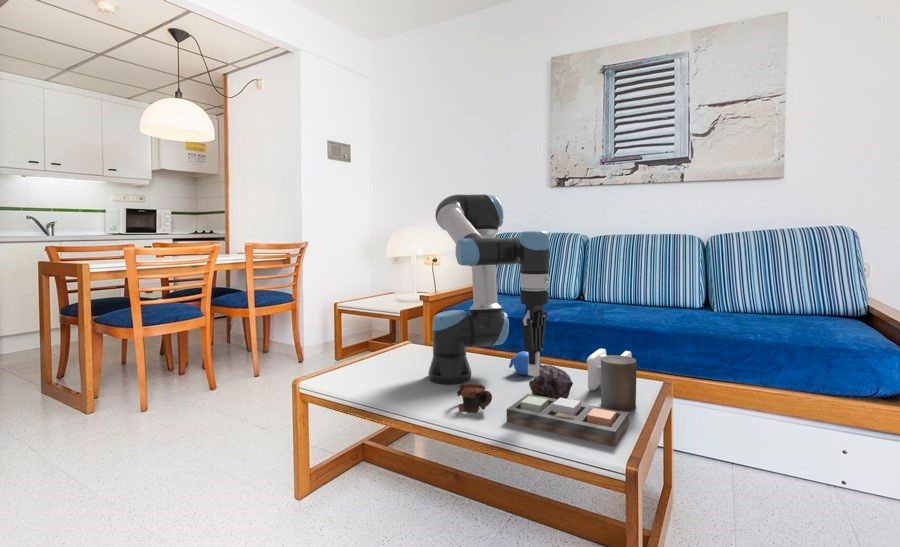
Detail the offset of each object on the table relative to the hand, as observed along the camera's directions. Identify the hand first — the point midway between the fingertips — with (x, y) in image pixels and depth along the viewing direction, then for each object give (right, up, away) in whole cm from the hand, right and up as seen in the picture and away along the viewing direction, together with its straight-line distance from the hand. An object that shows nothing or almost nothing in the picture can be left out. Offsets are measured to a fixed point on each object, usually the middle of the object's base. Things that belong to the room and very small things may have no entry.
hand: (533, 375), depth 126 cm
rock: (+9, -10, +17) cm, 21 cm away
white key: (+8, -8, -5) cm, 12 cm away
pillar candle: (+26, -11, +8) cm, 29 cm away
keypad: (+8, -12, -5) cm, 15 cm away
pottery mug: (-16, -12, +7) cm, 21 cm away
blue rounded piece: (+4, -9, +41) cm, 42 cm away
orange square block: (+15, -9, -10) cm, 20 cm away
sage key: (0, -9, 0) cm, 9 cm away
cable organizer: (+29, -10, +23) cm, 38 cm away
